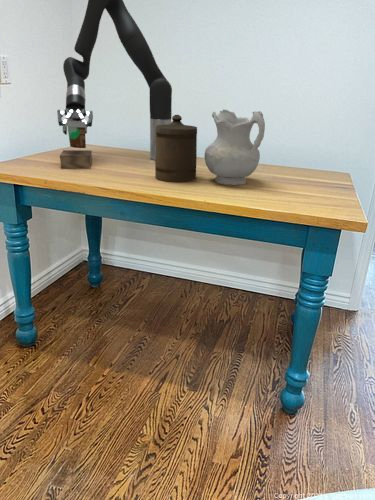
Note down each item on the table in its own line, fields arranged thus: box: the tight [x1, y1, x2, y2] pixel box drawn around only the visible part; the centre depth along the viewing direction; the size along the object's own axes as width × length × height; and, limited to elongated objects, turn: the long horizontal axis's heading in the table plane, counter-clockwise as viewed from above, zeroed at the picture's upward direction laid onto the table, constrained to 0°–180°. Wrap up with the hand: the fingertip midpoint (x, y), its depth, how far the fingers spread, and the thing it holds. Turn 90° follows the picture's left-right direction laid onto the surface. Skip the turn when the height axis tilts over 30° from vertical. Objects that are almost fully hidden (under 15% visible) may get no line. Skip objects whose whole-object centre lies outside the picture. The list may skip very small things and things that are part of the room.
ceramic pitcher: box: [204, 109, 266, 186], centre depth 144 cm, size 22×20×25 cm
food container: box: [66, 119, 87, 149], centre depth 162 cm, size 12×6×10 cm, turn 25°
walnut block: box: [59, 149, 93, 170], centre depth 165 cm, size 11×12×5 cm
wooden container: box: [154, 114, 198, 183], centre depth 148 cm, size 15×15×22 cm
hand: (74, 133), depth 162 cm, fingers closed on food container, 6 cm apart
